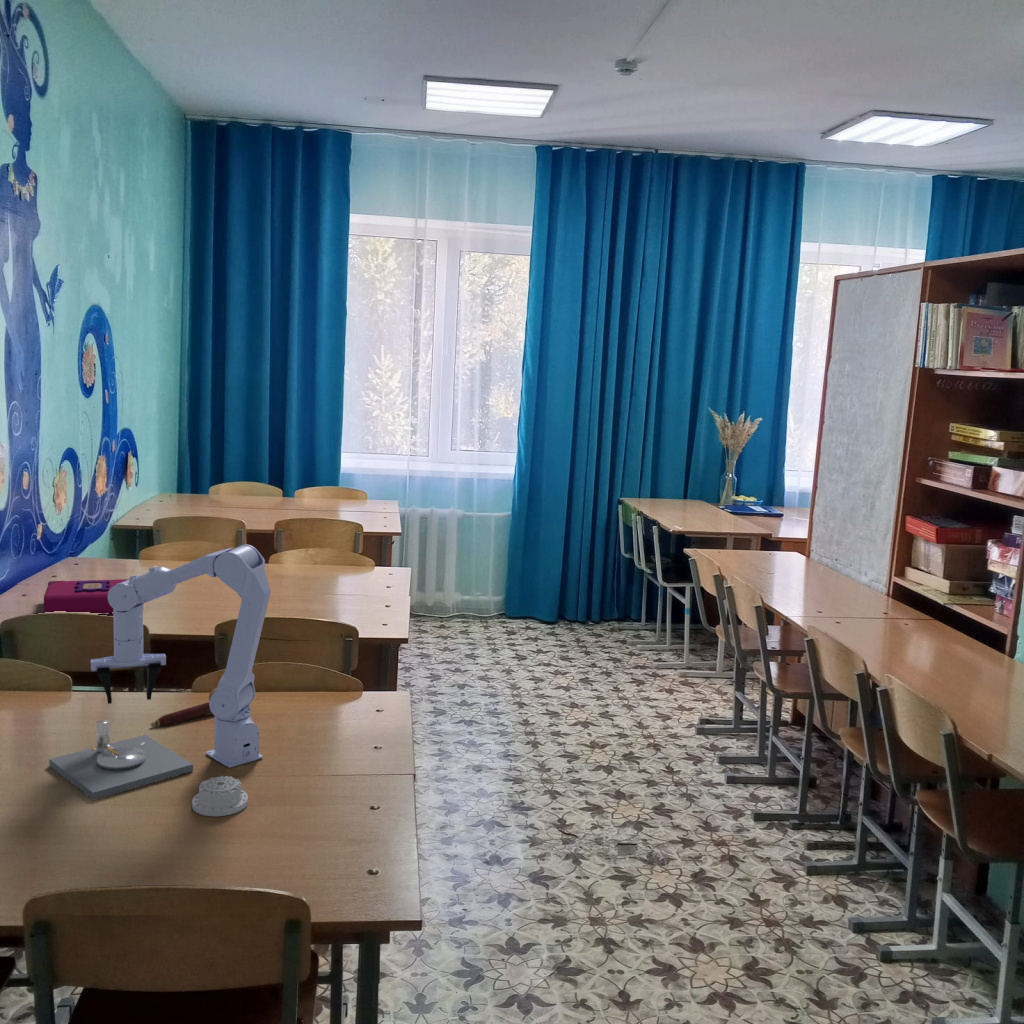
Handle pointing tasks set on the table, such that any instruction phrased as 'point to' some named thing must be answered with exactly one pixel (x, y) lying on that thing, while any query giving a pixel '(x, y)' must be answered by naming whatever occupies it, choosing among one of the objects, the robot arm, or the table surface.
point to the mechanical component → (220, 797)
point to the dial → (115, 751)
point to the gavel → (184, 714)
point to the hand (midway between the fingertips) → (129, 700)
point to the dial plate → (106, 782)
